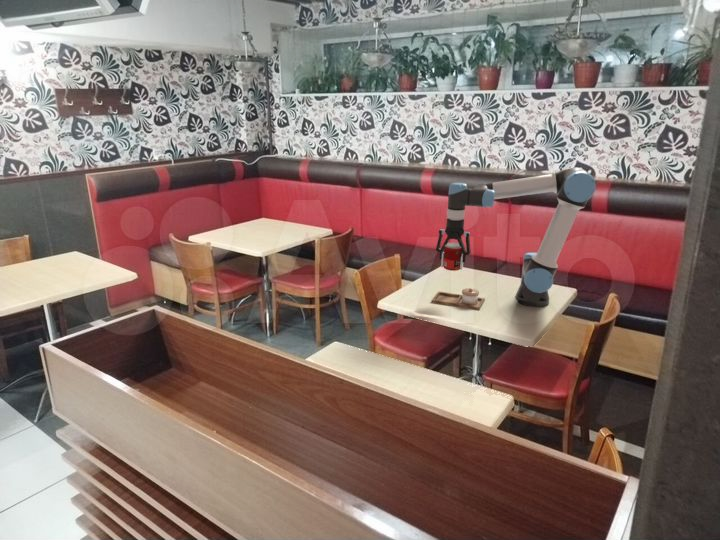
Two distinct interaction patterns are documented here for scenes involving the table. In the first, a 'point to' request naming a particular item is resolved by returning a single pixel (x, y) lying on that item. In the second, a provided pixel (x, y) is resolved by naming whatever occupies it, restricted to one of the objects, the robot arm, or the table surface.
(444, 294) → the wooden tray
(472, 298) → the sugar pot
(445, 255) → the canned food
